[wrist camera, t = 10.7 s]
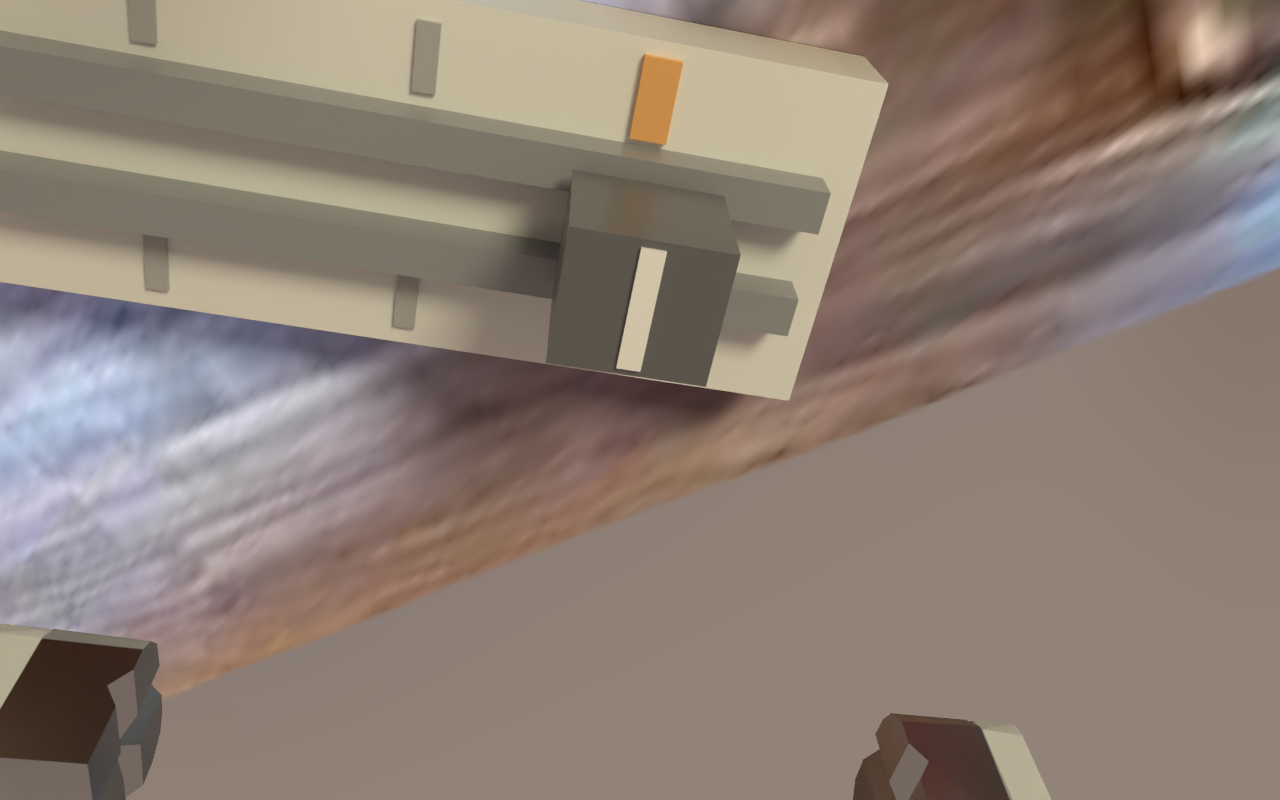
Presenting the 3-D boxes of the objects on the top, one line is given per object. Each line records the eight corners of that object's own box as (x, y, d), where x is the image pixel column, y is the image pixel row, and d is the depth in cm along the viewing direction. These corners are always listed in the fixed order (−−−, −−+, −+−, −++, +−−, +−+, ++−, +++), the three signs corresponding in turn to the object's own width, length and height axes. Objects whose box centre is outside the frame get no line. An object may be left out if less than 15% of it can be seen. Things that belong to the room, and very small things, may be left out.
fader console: (26, 237, 32) (-45, 297, 28) (-18, -117, 27) (-113, -98, 23) (775, 353, 35) (794, 421, 31) (864, 56, 30) (899, 96, 26)
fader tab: (554, 269, 30) (545, 364, 25) (574, 149, 28) (568, 228, 23) (690, 291, 30) (706, 389, 26) (718, 175, 28) (741, 257, 24)
